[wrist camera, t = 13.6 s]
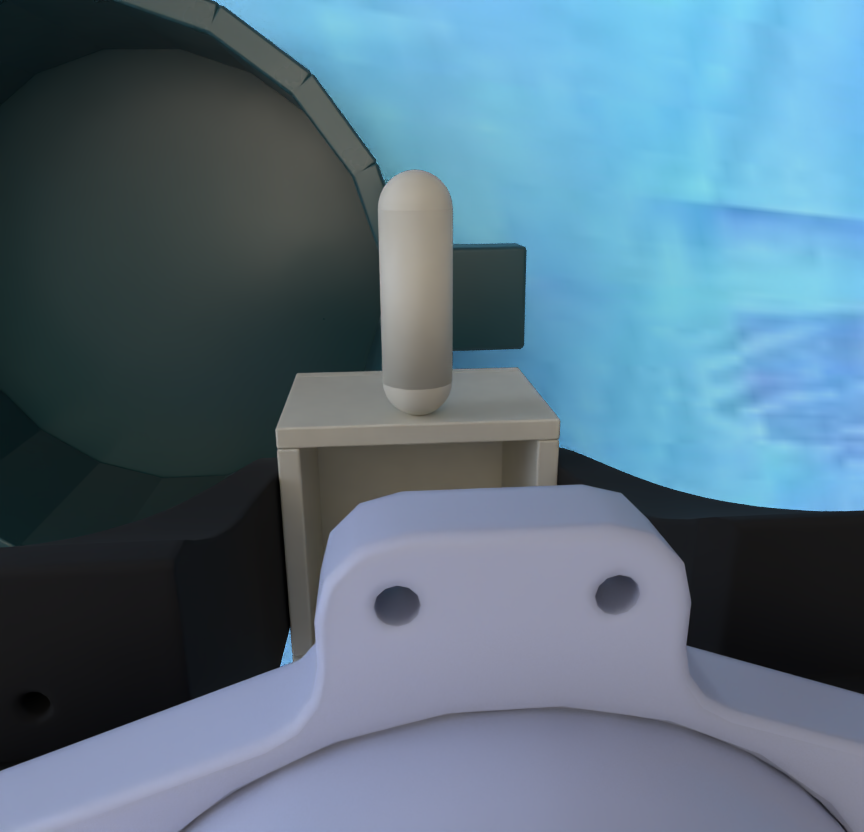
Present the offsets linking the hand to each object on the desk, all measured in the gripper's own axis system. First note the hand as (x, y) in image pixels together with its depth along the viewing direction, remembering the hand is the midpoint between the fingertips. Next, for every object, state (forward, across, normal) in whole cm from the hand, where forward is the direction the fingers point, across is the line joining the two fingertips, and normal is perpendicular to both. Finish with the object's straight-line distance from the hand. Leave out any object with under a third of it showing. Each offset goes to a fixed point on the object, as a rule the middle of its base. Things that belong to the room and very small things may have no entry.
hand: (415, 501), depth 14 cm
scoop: (+1, 0, -2) cm, 2 cm away
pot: (+9, +6, -3) cm, 12 cm away
